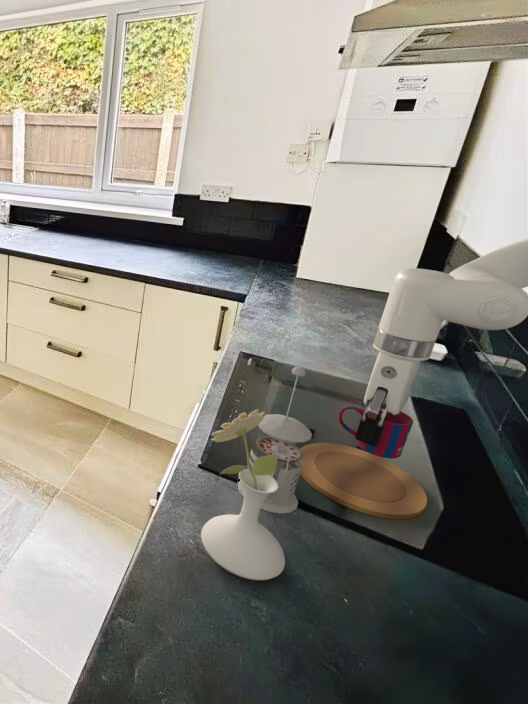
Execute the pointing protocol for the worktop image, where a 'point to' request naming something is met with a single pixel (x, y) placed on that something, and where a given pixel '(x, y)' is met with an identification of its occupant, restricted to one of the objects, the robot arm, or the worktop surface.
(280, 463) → the french press
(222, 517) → the flower in vase
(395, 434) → the mug
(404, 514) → the round wooden plate
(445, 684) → the worktop surface
